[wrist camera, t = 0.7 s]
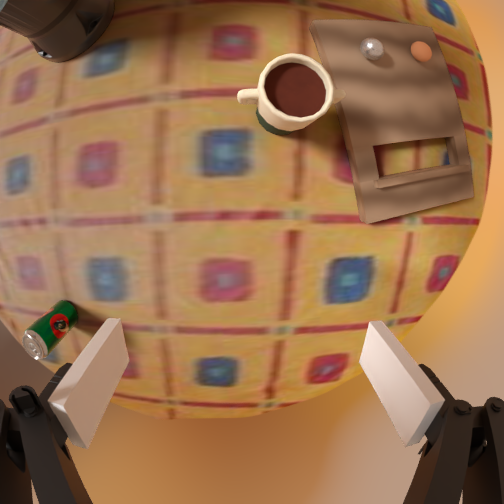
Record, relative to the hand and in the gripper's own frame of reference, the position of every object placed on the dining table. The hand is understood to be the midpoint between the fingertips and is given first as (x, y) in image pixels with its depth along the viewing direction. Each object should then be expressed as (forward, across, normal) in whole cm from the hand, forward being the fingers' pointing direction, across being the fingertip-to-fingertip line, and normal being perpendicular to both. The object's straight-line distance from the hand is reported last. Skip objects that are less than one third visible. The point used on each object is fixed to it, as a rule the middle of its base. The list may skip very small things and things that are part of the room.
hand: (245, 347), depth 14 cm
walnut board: (+26, +23, +20) cm, 40 cm away
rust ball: (+22, +25, +30) cm, 45 cm away
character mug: (+26, +4, +16) cm, 32 cm away
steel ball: (+22, +16, +27) cm, 39 cm away
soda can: (+26, -30, -14) cm, 43 cm away
